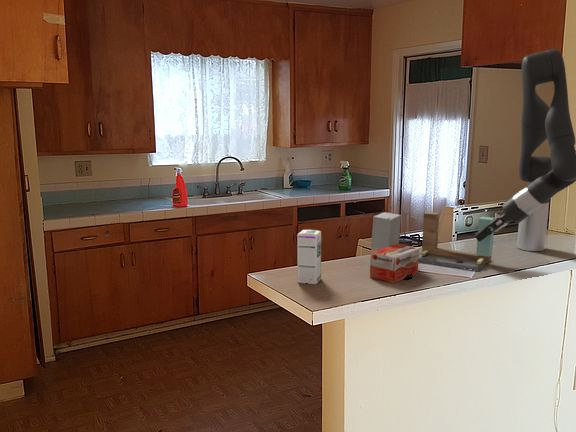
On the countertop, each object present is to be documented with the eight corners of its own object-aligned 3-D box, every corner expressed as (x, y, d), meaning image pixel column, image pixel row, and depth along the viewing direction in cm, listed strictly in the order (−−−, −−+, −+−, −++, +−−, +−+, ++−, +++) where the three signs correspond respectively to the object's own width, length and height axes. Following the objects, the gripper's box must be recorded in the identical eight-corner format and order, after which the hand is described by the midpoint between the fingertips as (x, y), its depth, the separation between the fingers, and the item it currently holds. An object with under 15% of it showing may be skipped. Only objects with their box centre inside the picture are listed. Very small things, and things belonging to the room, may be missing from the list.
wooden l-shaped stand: (425, 250, 187) (427, 211, 185) (491, 259, 175) (494, 218, 173) (416, 255, 180) (418, 215, 177) (484, 265, 168) (488, 223, 166)
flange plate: (427, 251, 191) (428, 247, 191) (489, 260, 180) (489, 256, 179) (411, 260, 178) (411, 256, 177) (477, 271, 166) (477, 266, 166)
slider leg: (479, 257, 177) (482, 216, 175) (491, 258, 175) (494, 217, 173) (471, 262, 170) (474, 220, 168) (485, 264, 168) (488, 222, 165)
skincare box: (380, 258, 181) (382, 211, 178) (400, 261, 177) (402, 214, 174) (368, 263, 174) (370, 215, 171) (389, 267, 170) (391, 217, 167)
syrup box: (316, 284, 152) (317, 234, 149) (296, 282, 153) (297, 232, 151) (321, 279, 157) (322, 230, 155) (301, 277, 159) (302, 228, 156)
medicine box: (393, 284, 153) (394, 256, 152) (369, 278, 159) (370, 252, 157) (419, 273, 165) (420, 247, 163) (395, 267, 170) (396, 243, 168)
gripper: (518, 192, 173) (478, 224, 181) (509, 198, 161) (466, 232, 169) (535, 210, 171) (493, 242, 179) (526, 217, 159) (482, 250, 167)
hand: (480, 237), depth 174 cm, fingers open, 6 cm apart
